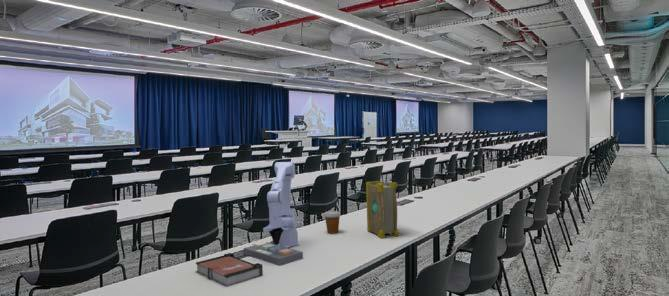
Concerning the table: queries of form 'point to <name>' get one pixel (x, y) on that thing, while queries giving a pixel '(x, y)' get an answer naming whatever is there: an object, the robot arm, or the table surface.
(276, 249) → the slate key
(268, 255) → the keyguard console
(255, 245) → the sand key
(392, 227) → the decorative book
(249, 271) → the book
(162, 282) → the table surface
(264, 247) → the sage key
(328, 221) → the disposable coffee cup
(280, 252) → the terracotta key
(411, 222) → the table surface
